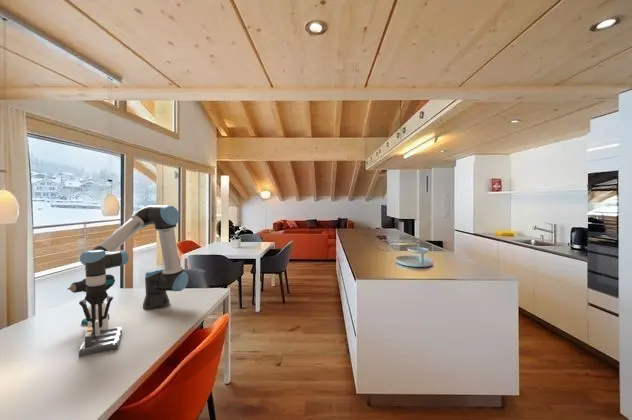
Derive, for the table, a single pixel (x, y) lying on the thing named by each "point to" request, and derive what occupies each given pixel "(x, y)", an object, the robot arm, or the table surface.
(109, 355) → the table surface
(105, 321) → the cup
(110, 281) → the power drill
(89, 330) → the block
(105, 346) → the panel
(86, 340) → the block
